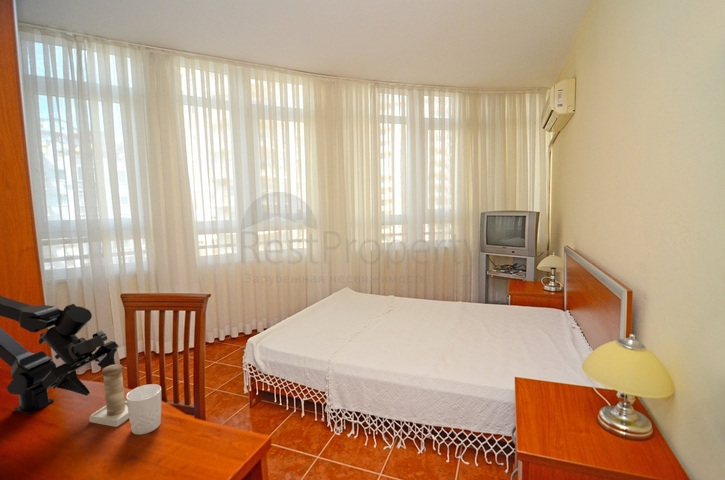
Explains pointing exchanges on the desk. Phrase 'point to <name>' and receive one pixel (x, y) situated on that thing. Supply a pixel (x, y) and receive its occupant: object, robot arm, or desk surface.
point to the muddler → (114, 389)
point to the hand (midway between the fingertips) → (103, 385)
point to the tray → (109, 417)
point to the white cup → (144, 408)
